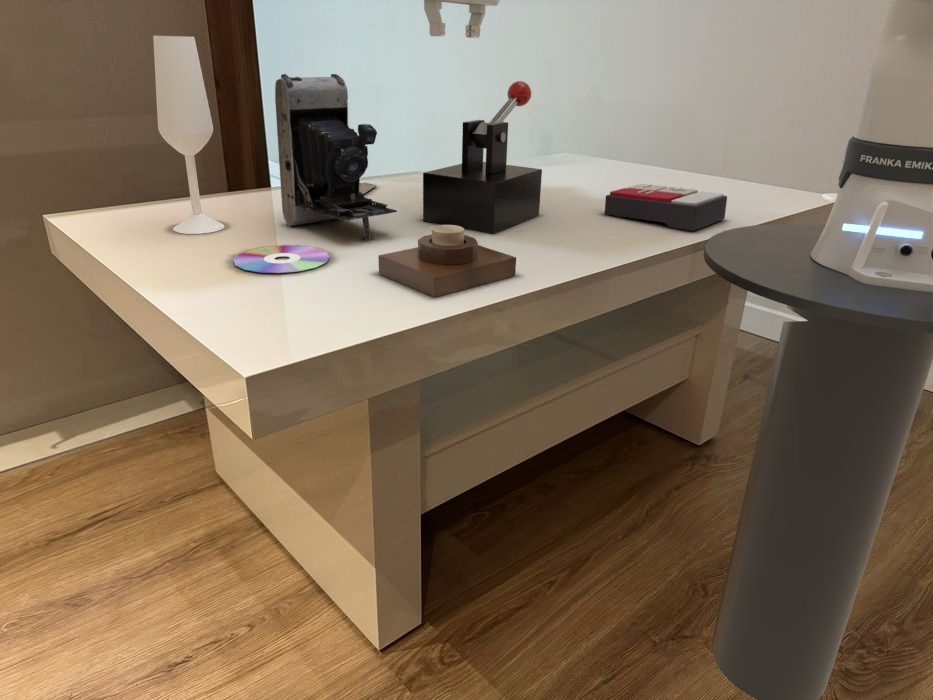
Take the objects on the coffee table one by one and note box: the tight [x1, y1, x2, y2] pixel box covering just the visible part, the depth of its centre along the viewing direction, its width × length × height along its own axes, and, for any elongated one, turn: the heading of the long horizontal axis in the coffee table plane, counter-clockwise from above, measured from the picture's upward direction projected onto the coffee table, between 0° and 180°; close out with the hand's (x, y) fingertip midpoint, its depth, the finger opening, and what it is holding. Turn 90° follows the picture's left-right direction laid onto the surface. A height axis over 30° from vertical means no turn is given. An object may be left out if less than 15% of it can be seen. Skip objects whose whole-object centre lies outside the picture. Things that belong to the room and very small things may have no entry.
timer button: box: [431, 224, 465, 246], centre depth 78 cm, size 4×4×2 cm
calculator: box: [604, 183, 728, 232], centre depth 108 cm, size 11×4×15 cm
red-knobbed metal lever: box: [473, 80, 532, 149], centre depth 104 cm, size 14×4×4 cm, turn 148°
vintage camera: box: [274, 73, 398, 241], centre depth 93 cm, size 10×16×20 cm, turn 42°
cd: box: [232, 244, 331, 274], centre depth 84 cm, size 11×11×1 cm
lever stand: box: [422, 119, 543, 235], centre depth 103 cm, size 14×12×14 cm
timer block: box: [377, 233, 517, 298], centre depth 79 cm, size 12×10×4 cm
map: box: [359, 182, 378, 195], centre depth 117 cm, size 5×20×1 cm, turn 168°
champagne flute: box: [152, 35, 225, 235], centre depth 92 cm, size 7×7×24 cm
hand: (455, 37), depth 105 cm, fingers open, 8 cm apart
